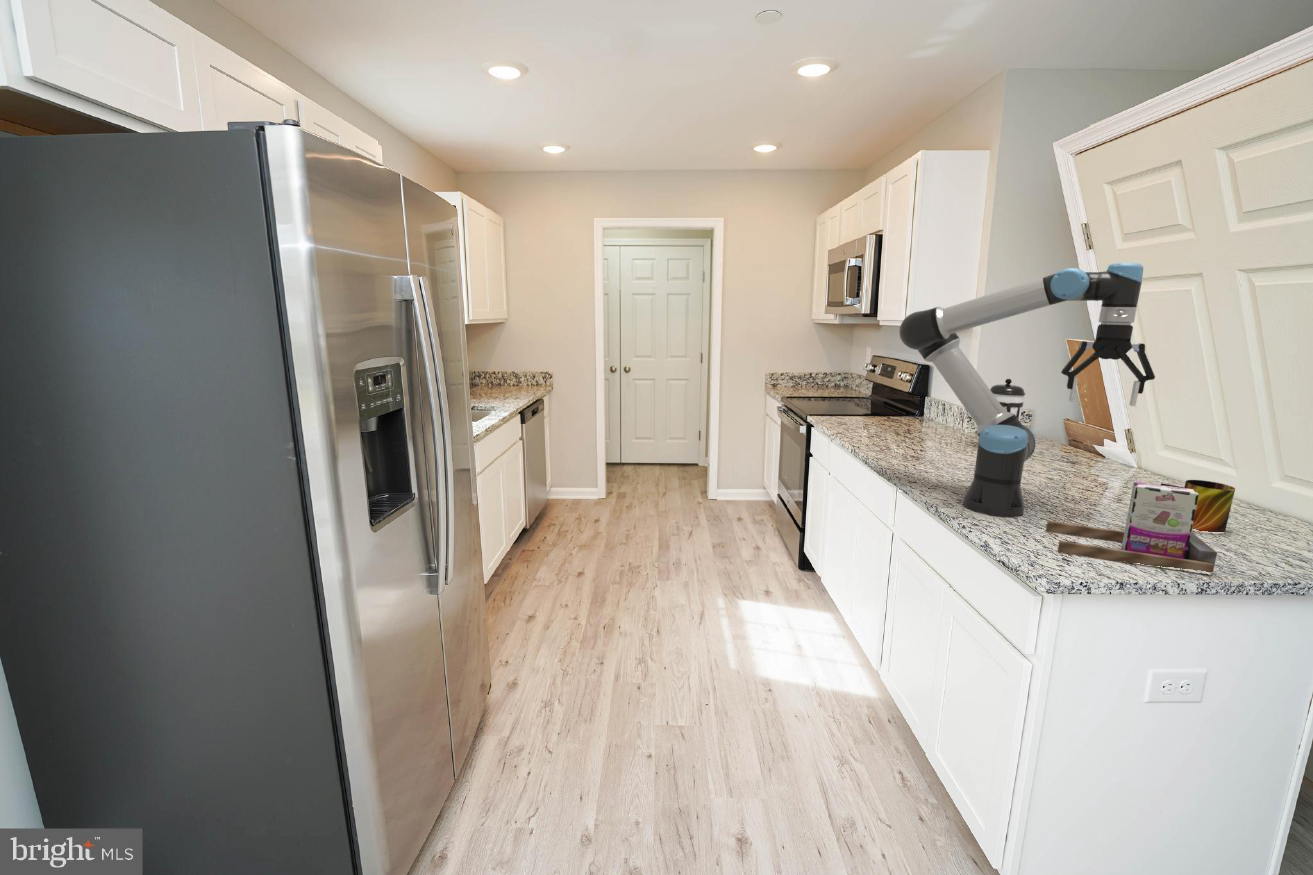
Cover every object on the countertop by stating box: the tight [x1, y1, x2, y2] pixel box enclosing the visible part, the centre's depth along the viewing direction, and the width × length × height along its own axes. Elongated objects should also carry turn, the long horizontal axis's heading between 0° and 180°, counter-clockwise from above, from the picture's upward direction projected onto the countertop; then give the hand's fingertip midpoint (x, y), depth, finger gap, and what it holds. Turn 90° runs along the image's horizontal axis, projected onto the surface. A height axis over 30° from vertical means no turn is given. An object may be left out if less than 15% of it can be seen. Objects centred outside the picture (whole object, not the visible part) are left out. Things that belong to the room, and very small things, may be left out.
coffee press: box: [989, 378, 1026, 422], centre depth 241 cm, size 17×16×30 cm
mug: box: [1160, 479, 1236, 532], centre depth 158 cm, size 10×14×12 cm
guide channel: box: [1046, 520, 1218, 573], centre depth 140 cm, size 28×16×5 cm, turn 66°
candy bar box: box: [1121, 481, 1199, 559], centre depth 137 cm, size 11×5×16 cm, turn 60°
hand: (1101, 403), depth 162 cm, fingers open, 13 cm apart
